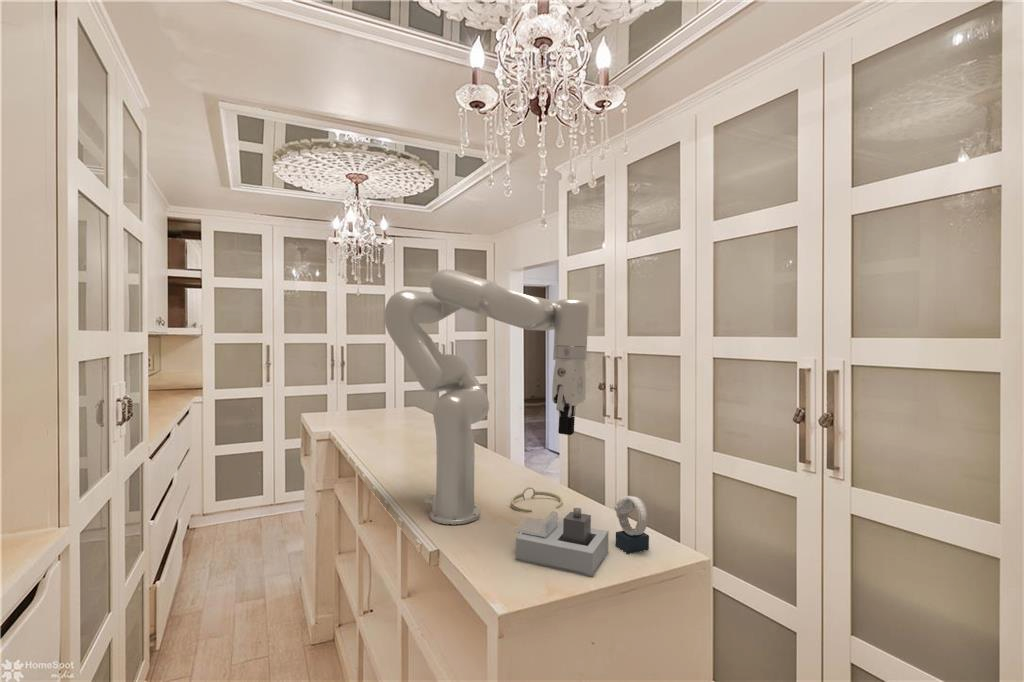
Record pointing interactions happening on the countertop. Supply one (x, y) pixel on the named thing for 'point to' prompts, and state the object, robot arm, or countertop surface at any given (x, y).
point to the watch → (630, 537)
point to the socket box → (563, 551)
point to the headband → (533, 497)
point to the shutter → (539, 525)
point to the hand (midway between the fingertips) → (566, 433)
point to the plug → (577, 528)
